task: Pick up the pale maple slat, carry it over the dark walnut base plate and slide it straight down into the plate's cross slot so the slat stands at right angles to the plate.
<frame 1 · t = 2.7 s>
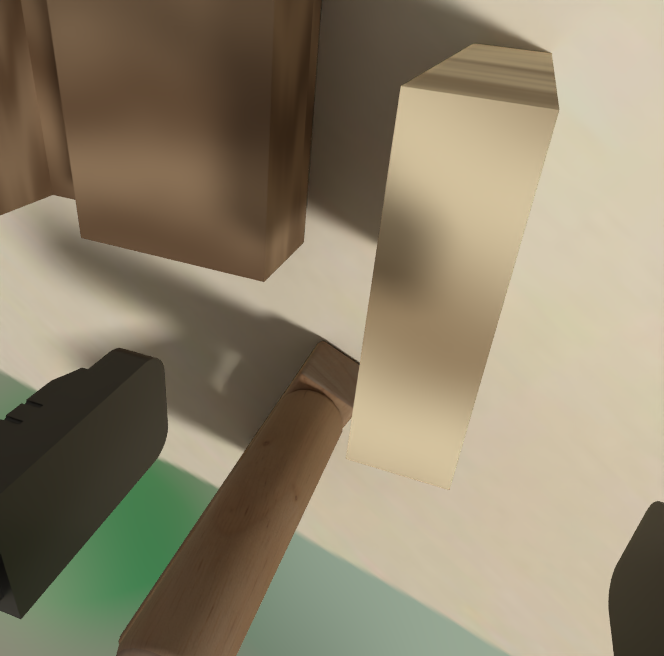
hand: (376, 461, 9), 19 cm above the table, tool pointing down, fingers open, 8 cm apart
wooden toy block structure: (308, 410, 35), on the table
maple slat: (482, 174, 25), on the table
slotted plate: (86, 61, 28), on the table
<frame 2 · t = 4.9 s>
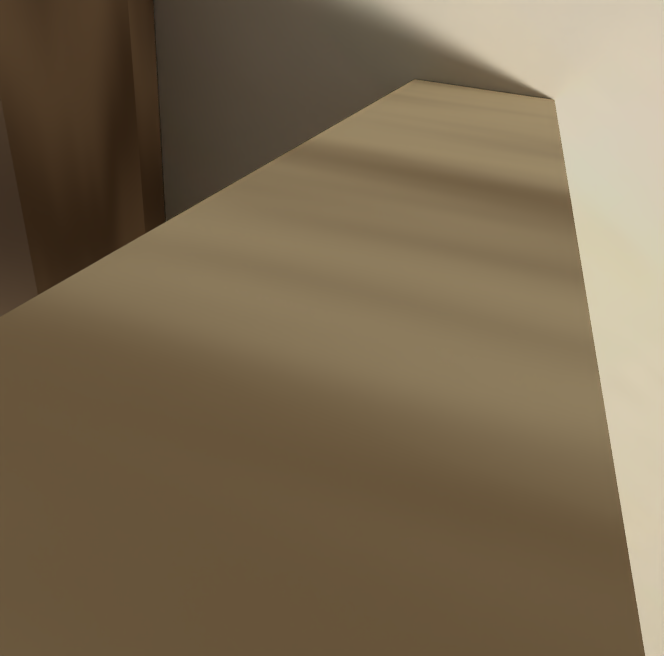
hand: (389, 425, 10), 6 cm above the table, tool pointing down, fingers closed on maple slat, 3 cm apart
maple slat: (437, 293, 15), on the table, touching gripper
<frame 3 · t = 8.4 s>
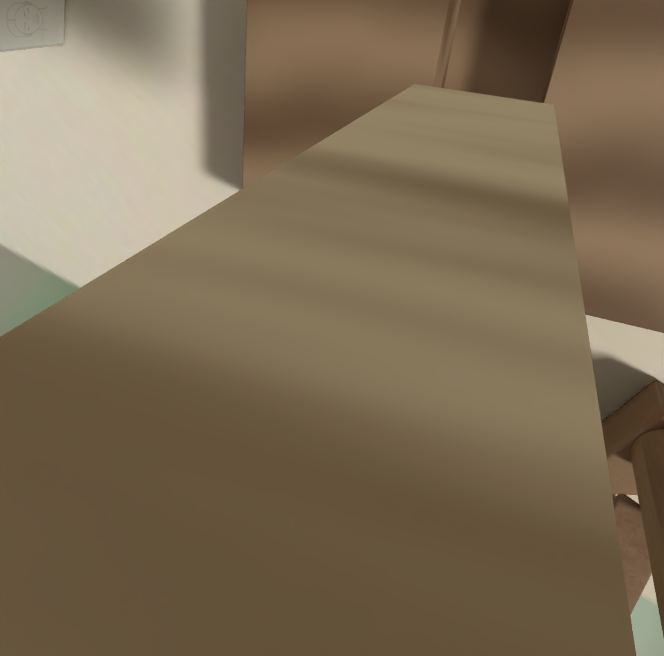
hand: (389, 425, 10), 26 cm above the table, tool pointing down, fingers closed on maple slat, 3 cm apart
wooden toy block structure: (613, 441, 38), on the table
maple slat: (437, 297, 15), point 20 cm above the table, touching gripper
slotted plate: (484, 130, 31), on the table
when the fingers open (8 cm above the table, at t = 12.1 s): maple slat stays where it is, resting on slotted plate.
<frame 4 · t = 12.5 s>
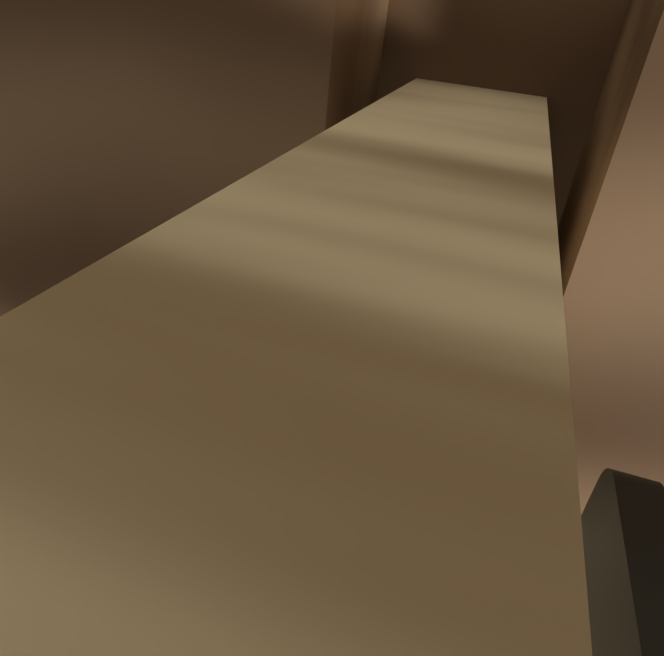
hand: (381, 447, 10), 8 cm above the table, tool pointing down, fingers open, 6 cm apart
maple slat: (438, 280, 16), point 1 cm above the table, touching slotted plate
slotted plate: (447, 264, 16), on the table
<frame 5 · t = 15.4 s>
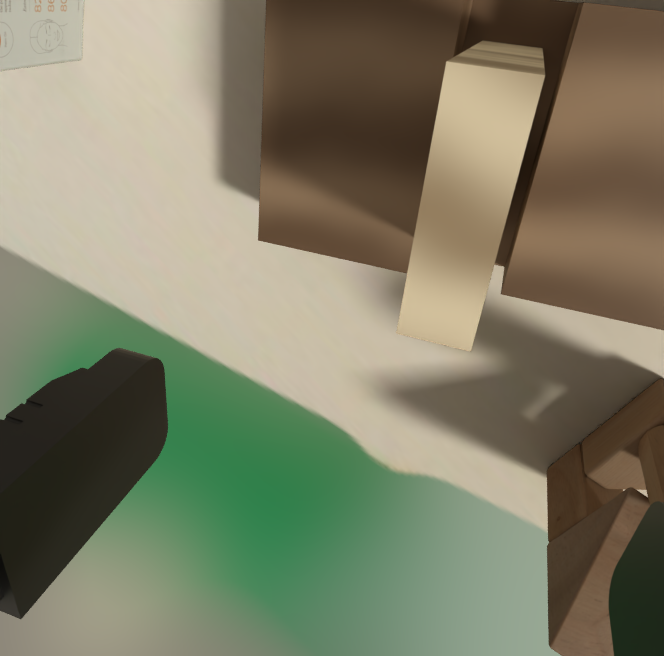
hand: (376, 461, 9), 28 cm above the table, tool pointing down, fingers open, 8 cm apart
wooden toy block structure: (619, 437, 39), on the table
maple slat: (488, 144, 32), point 1 cm above the table, touching slotted plate
slotted plate: (492, 139, 32), on the table
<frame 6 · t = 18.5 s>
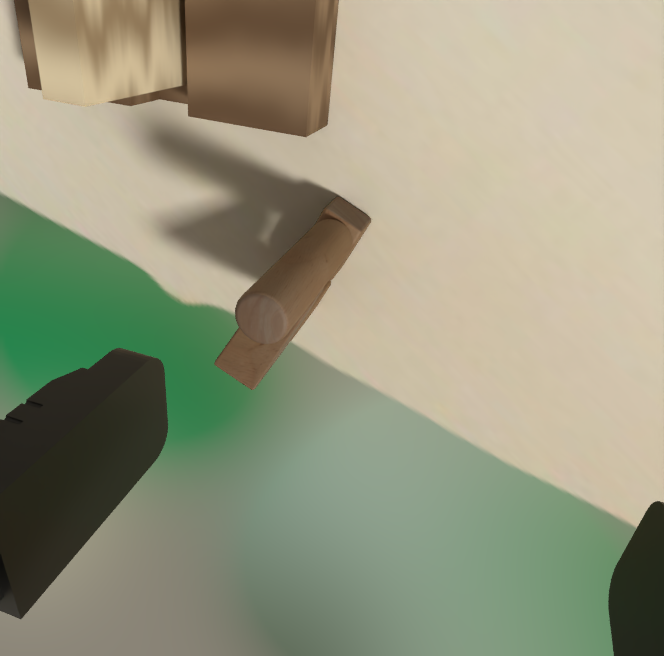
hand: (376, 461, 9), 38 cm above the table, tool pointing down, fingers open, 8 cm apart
wooden toy block structure: (327, 253, 51), on the table
maple slat: (181, 8, 43), point 1 cm above the table, touching slotted plate
slotted plate: (189, 6, 44), on the table
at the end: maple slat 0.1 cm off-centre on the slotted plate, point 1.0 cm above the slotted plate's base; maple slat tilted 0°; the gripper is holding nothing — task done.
